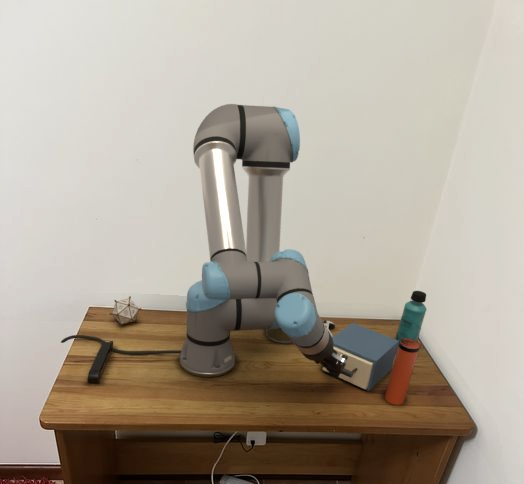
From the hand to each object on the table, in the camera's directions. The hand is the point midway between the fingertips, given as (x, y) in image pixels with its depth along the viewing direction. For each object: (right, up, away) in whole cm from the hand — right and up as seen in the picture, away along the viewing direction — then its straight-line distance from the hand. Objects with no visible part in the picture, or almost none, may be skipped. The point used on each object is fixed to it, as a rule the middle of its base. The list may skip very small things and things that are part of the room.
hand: (337, 373), depth 127 cm
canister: (-13, +11, +26) cm, 31 cm away
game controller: (0, +11, +29) cm, 32 cm away
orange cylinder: (+15, -7, +2) cm, 17 cm away
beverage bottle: (+24, +5, +23) cm, 34 cm away
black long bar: (-62, +2, +4) cm, 62 cm away
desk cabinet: (+8, 0, +13) cm, 15 cm away
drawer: (+5, 0, +9) cm, 11 cm away
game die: (-61, +14, +24) cm, 67 cm away
